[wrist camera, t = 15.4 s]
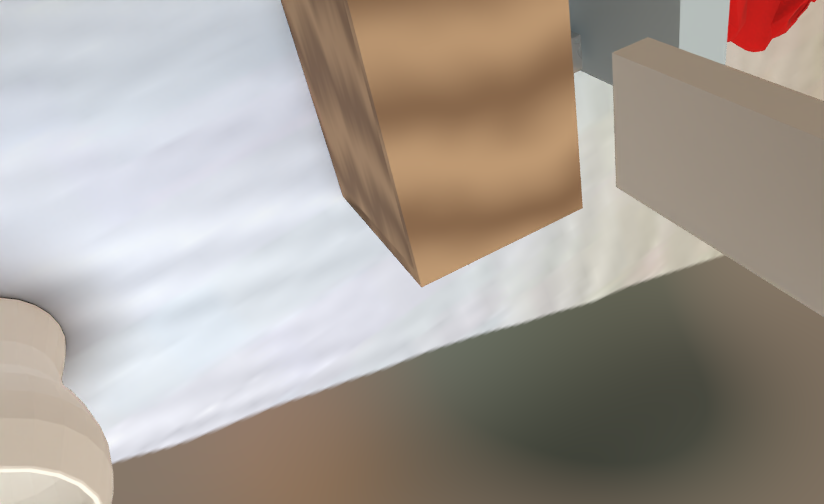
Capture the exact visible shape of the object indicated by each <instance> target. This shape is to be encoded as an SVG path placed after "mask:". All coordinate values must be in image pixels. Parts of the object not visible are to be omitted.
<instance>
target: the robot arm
mask: <svg viewBox="0 0 824 504" xmlns="http://www.w3.org/2000/svg"><path fill="white" fill-rule="evenodd" d="M612 70H613V102H614V134H615V166H616V187H617V188H619V189H620V190H622V191H624V192H625V193H627V194H628V195H630V196H632V197H633V198H635V199H636V200H638V201H640V202H641V203H643V204H644V205H646V206H648V207H649V208H651V209H652V210H654V211H656V212H657V213H659V214H660V215H662V216H663V217H665V218H667V219H668V220H670V221H671V222H673V223H675V224H676V225H678V226H679V227H681V228H683V229H684V230H686V231H687V232H689V233H691V234H692V235H694V236H695V237H697V238H699V239H700V240H702V241H703V242H705V243H707V244H708V245H710V246H711V247H713V248H715V249H716V250H718V251H719V252H721V253H723V254H724V255H726V256H727V257H729V258H731V259H732V260H734V261H735V262H737V263H739V264H740V265H742V266H744V267H745V268H746V269H748V270H750V271H751V272H753V273H755V274H756V275H758V276H759V277H761V278H763V279H764V280H766V281H767V282H769V283H770V284H772V285H774V286H775V287H777V288H778V289H780V290H782V291H783V292H785V293H786V294H788V295H790V296H791V297H793V298H794V299H796V300H798V301H799V302H801V303H802V304H804V305H806V306H807V307H809V308H810V309H812V310H814V311H815V312H817V313H818V314H820V315H822V316H823V317H824V101H822V100H819V99H817V98H814V97H811V96H808V95H806V94H803V93H800V92H797V91H795V90H792V89H789V88H786V87H784V86H781V85H778V84H775V83H773V82H770V81H767V80H764V79H762V78H759V77H756V76H753V75H751V74H748V73H745V72H742V71H740V70H737V69H734V68H731V67H729V66H726V65H723V64H720V63H718V62H715V61H712V60H709V59H707V58H704V57H701V56H698V55H696V54H693V53H690V52H687V51H685V50H682V49H679V48H677V47H674V46H671V45H668V44H666V43H663V42H660V41H657V40H655V39H652V38H649V37H647V38H645V39H642V40H640V41H638V42H635V43H633V44H631V45H628V46H626V47H624V48H621V49H619V50H617V51H615V52H612Z"/></svg>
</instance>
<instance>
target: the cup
mask: <svg viewBox="0 0 824 504" xmlns="http://www.w3.org/2000/svg"><path fill="white" fill-rule="evenodd" d="M65 355H66V345H65V336H64V334H63V332H62V329H61V327H60V325H59V324H58V323H57V322H56V321H55V319H54V318H53V317H52V316H51V315H50V314H49V313H47V312H45V311H44V310H42V309H41V308H39V307H37V306H36V305H33V304H30V303H26V302H23V301H20V300H15V299H6V298H0V504H111V503H112V497H113V469H112V463H111V458H110V452H109V446H108V443H107V441H106V438H105V436H104V434H103V432H102V429H101V427H100V425H99V424H98V422H97V421H96V420H95V418H94V417H93V415H92V414H91V413H90V411H89V410H88V408H87V407H86V406H85V404H84V403H83V402H82V401H81V400H80V399H79V398H78V397H77V396H76V395H75V394H74V393H73V392H72V391H71V390H69V389H68V388H66V387H65V386H64V385H63V383H62V374H63V369H64V364H65Z"/></svg>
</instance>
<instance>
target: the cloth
mask: <svg viewBox="0 0 824 504" xmlns="http://www.w3.org/2000/svg"><path fill="white" fill-rule="evenodd" d="M811 1H812V2H815V1H816V0H730V6H729V20H728V34H727V42H730V41H731V42H733V43H735V44H736V45H738V46H740V47H741V48H743V49H745V50H747V51H751V52H759V51H763V50H765V49H766V47H767V46H768V44H769V43H770V41H771V40H772V39H773V38H775V37H778V36H780V35H782V34H784V33H786V32H787V31H788V30H789V28H790V27H791V26H792V25H793V24H794V23H795V22H796V21H797V20H798V19H797V18H798V17H799V16H800V15H801V14H802V13H803V12H804V11H805V10H806V9H807V8H808V6H809V4H810V2H811Z"/></svg>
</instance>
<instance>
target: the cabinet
mask: <svg viewBox="0 0 824 504" xmlns="http://www.w3.org/2000/svg"><path fill="white" fill-rule="evenodd" d="M281 2H282V5H283V9H284V12H285V15H286V18H287V21H288V24H289V28H290V31H291V34H292V37H293V40H294V43H295V46H296V50H297V53H298V56H299V59H300V62H301V65H302V69H303V72H304V75H305V78H306V81H307V84H308V87H309V91H310V94H311V97H312V100H313V103H314V106H315V109H316V113H317V116H318V119H319V122H320V125H321V128H322V132H323V135H324V138H325V141H326V144H327V147H328V150H329V154H330V157H331V160H332V163H333V166H334V169H335V173H336V176H337V179H338V182H339V185H340V188H341V191H342V195H343V197H344V198H345V199H346V200H347V202H348V203H349V204H350V205H351V206H352V207H353V209H354V210H355V211H356V212H357V213H358V214H359V215H360V217H361V218H362V219H363V220H364V221H365V222H366V224H367V225H368V226H369V227H370V228H371V229H372V231H373V232H374V233H375V234H376V235H377V236H378V237H379V239H380V240H381V241H382V242H383V243H384V244H385V246H386V247H387V248H388V249H389V250H390V251H391V252H392V254H393V255H394V256H395V257H396V258H397V259H398V261H399V262H400V263H401V264H402V265H403V266H404V268H405V269H406V270H407V271H408V272H409V273H410V274H411V276H412V277H413V278H414V279H415V280H416V281H417V283H418V284H419V285H420V286H421V287H423V286H425V285H427V284H429V283H431V282H433V281H436V280H438V279H440V278H442V277H444V276H446V275H448V274H450V273H452V272H454V271H456V270H458V269H460V268H462V267H464V266H466V265H468V264H470V263H472V262H474V261H476V260H478V259H480V258H482V257H484V256H486V255H488V254H490V253H492V252H494V251H496V250H498V249H500V248H502V247H504V246H506V245H509V244H511V243H513V242H515V241H517V240H519V239H521V238H523V237H525V236H527V235H529V234H531V233H533V232H535V231H537V230H539V229H541V228H543V227H545V226H547V225H549V224H551V223H553V222H555V221H557V220H559V219H561V218H563V217H565V216H567V215H569V214H571V213H573V212H575V211H577V210H580V209H582V208H583V207H582V192H581V177H580V162H579V147H578V133H577V118H576V103H575V88H574V73H573V59H572V44H571V29H570V14H569V0H281Z"/></svg>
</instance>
